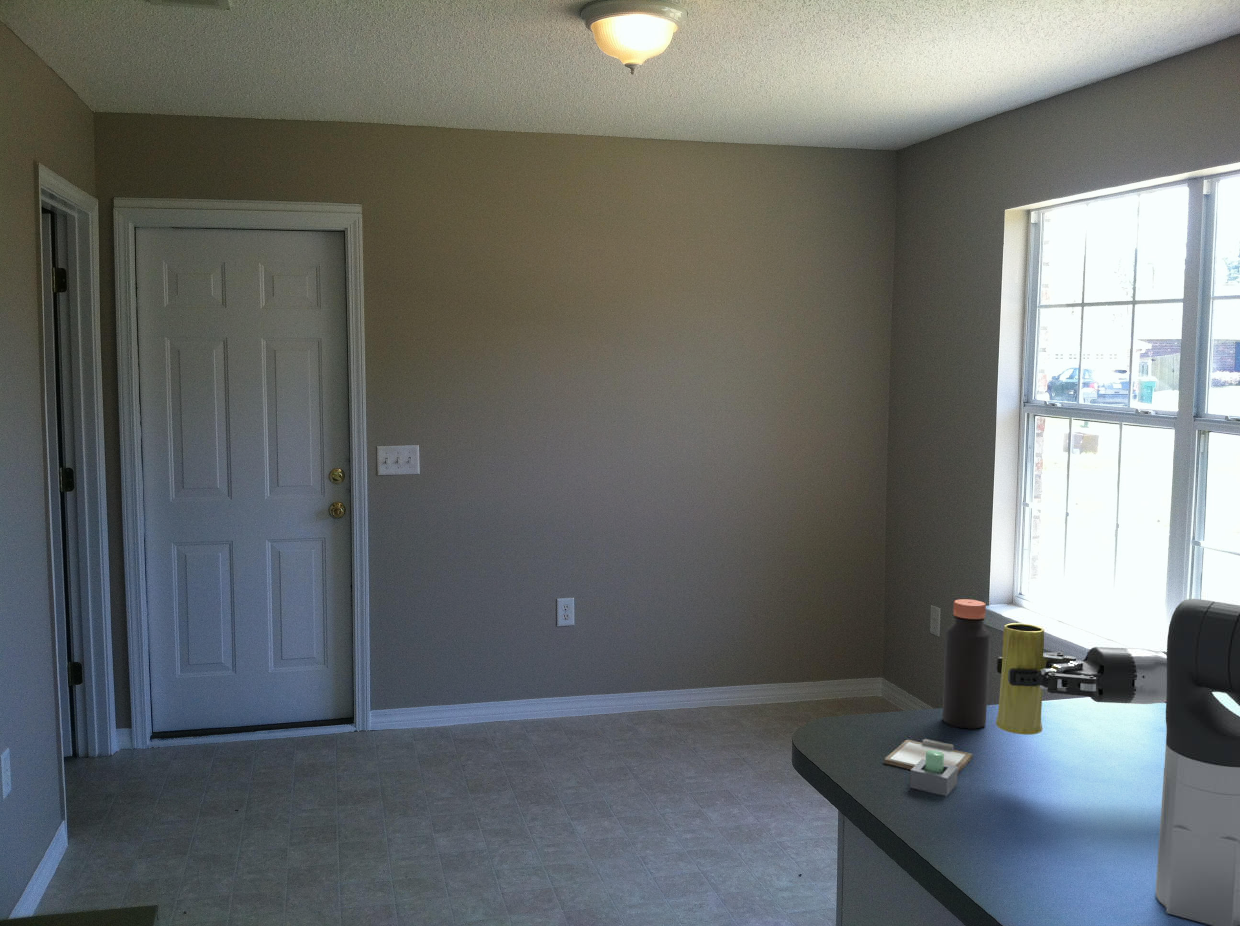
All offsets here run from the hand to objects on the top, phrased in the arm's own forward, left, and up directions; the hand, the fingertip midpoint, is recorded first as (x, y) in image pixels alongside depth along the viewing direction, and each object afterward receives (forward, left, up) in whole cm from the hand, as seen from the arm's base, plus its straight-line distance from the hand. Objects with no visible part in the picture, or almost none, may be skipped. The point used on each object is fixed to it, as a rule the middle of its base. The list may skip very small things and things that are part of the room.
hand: (1003, 670), depth 146 cm
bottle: (+21, +11, -16) cm, 29 cm away
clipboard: (+1, +10, -16) cm, 19 cm away
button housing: (-8, +7, -16) cm, 19 cm away
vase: (+1, -2, -8) cm, 9 cm away
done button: (-8, +7, -14) cm, 18 cm away
